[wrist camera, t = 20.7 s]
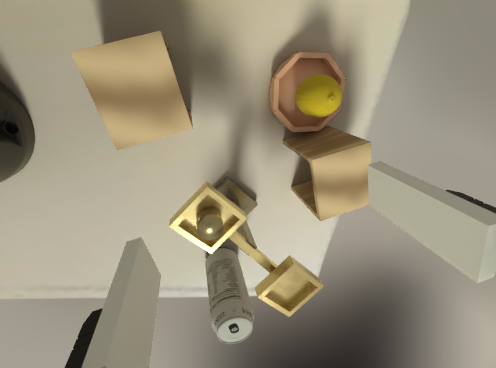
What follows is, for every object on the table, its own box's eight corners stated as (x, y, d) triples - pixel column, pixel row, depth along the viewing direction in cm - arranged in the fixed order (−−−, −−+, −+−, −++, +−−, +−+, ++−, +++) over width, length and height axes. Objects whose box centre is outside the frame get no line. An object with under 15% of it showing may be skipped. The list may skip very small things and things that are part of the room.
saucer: (253, 93, 38) (257, 94, 36) (308, 34, 36) (315, 32, 34) (299, 143, 42) (304, 146, 40) (349, 92, 41) (357, 93, 39)
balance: (174, 178, 40) (167, 241, 25) (200, 150, 39) (209, 198, 24) (257, 240, 48) (289, 317, 33) (280, 218, 47) (324, 286, 32)
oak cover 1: (105, 58, 32) (70, 52, 23) (168, 43, 33) (160, 30, 23) (135, 129, 36) (117, 150, 27) (191, 114, 37) (192, 128, 27)
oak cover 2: (282, 140, 41) (311, 160, 32) (328, 126, 42) (370, 142, 33) (291, 189, 45) (320, 221, 36) (333, 176, 46) (372, 203, 36)
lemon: (280, 89, 37) (303, 93, 30) (312, 65, 37) (342, 63, 30) (298, 120, 40) (323, 131, 33) (328, 98, 39) (360, 104, 32)
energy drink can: (211, 276, 49) (220, 353, 36) (200, 252, 46) (205, 325, 33) (241, 264, 49) (261, 336, 36) (231, 240, 47) (250, 308, 33)
